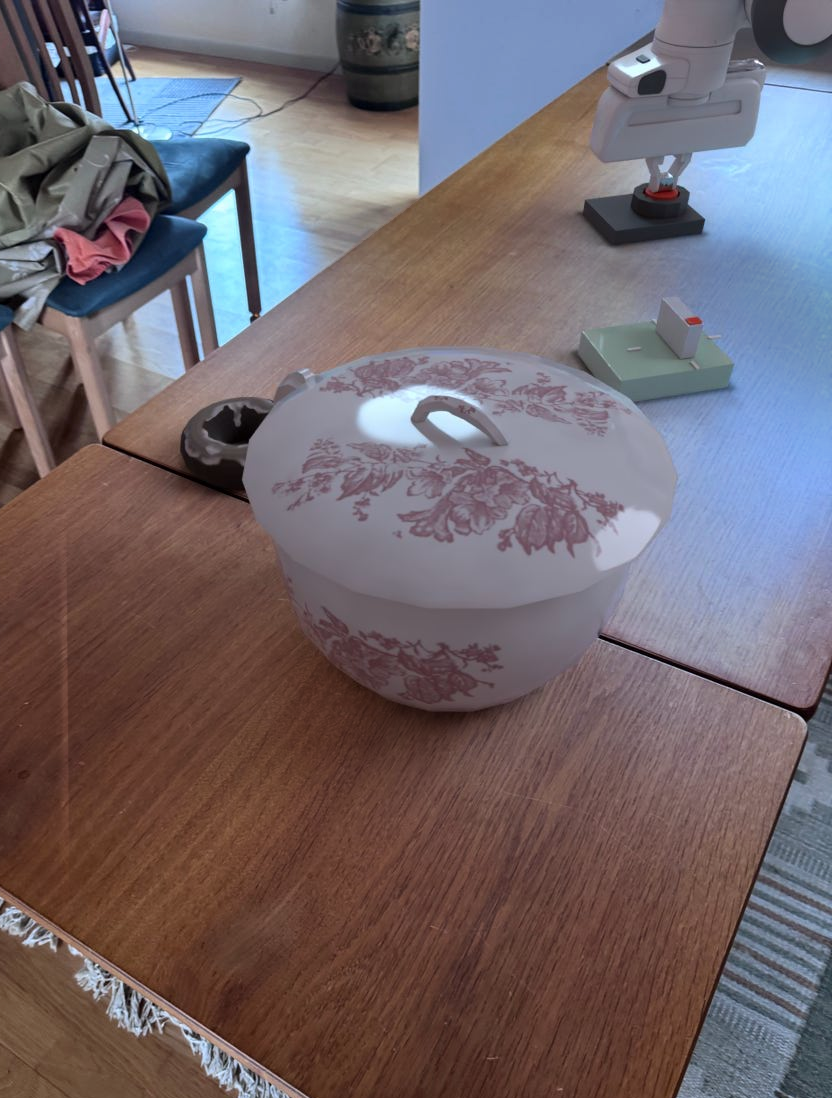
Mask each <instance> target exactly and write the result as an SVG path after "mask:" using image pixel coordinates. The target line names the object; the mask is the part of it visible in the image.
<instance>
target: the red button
mask: <svg viewBox="0 0 832 1098" xmlns="http://www.w3.org/2000/svg"><path fill="white" fill-rule="evenodd" d="M677 195H678V190H677V189H675V190H671V191H662V192H656V193H652V192H651V191H650V190H649V187H647V188H646V191H645V196H647V197H649V198H652V199H656V200H671V199H675V198H677Z"/></svg>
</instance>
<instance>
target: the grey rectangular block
mask: <svg viewBox="0 0 832 1098" xmlns="http://www.w3.org/2000/svg"><path fill="white" fill-rule="evenodd" d="M656 320H657V323H656V328H655V331H656V332H657V333H658V334H659V335H660V336H661V337H662V339H663V340H664V341H665V342H666V343H667V344H668V345H669V346H670V348H671V349H672V350H673V351H674V352H675V353H676V354H677V356H678V357H679V358H680V359H685V358H692V357H695V356H696V352H697V348H698V345H699V341H700V337H701V334H702V330H703V329H704V326H705V324H704V323H703V320H702V319H701V318H700V317H699V316H697V315H695V313H693V312H692V310H691V309H690V308H689V307H687V305H686V304H685V303H684V302H683V301H682V300H681V299H680V298H679V297H678V296H669V297H662V299H661V303H660V305H659V311H658V314H657V319H656ZM703 331H704V330H703Z"/></svg>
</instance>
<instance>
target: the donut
mask: <svg viewBox="0 0 832 1098" xmlns="http://www.w3.org/2000/svg"><path fill="white" fill-rule="evenodd" d="M273 400H274V399H270V398H265V397H258V396H238V397H231V398H225V399H222V400H219V401H216V402H212V403H211V404H209V405H207V406H205V407H203V408H201V409H200V410H198V411H197V412H196V413H195V414H194V415H192V417H191V418H190V419H189V420H188V421H187V423H186V424H185V426H184V428H183V430H182V431H181V435H180V442H179V452H180V454H181V457H182V459H183V462H184V465H185V466H186V468H187V469H188V470H189V471H190V472H191V473H192V474H193V475H194V476H196V477H197V478H198V479H199V480H201V481H204V482H205V483H207V484H210V485H212V486H214V487H219V488H224V489H229V490H246V489H245V487H244V484H243V481H242V478H243V472H244V467H245V461H246V456H247V450H248V445H249V442H246V443H234V442H237V441H242V440H243V441H244V440H250V438H251V437H252V436H253V434H254V433H255V431H256V430H257V429H258V427H259V426H260V425H261V423H262V422H263V421H264V419H265V418H266V416H267V415H268V414H269V412H270V411H271V410H272V408H273V407H274V402H273Z"/></svg>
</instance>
